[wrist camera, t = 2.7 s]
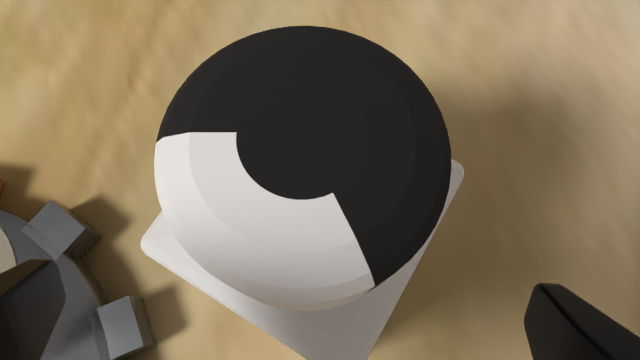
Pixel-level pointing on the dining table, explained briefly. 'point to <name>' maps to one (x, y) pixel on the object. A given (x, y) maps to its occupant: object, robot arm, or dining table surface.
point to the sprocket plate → (75, 287)
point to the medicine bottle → (302, 185)
